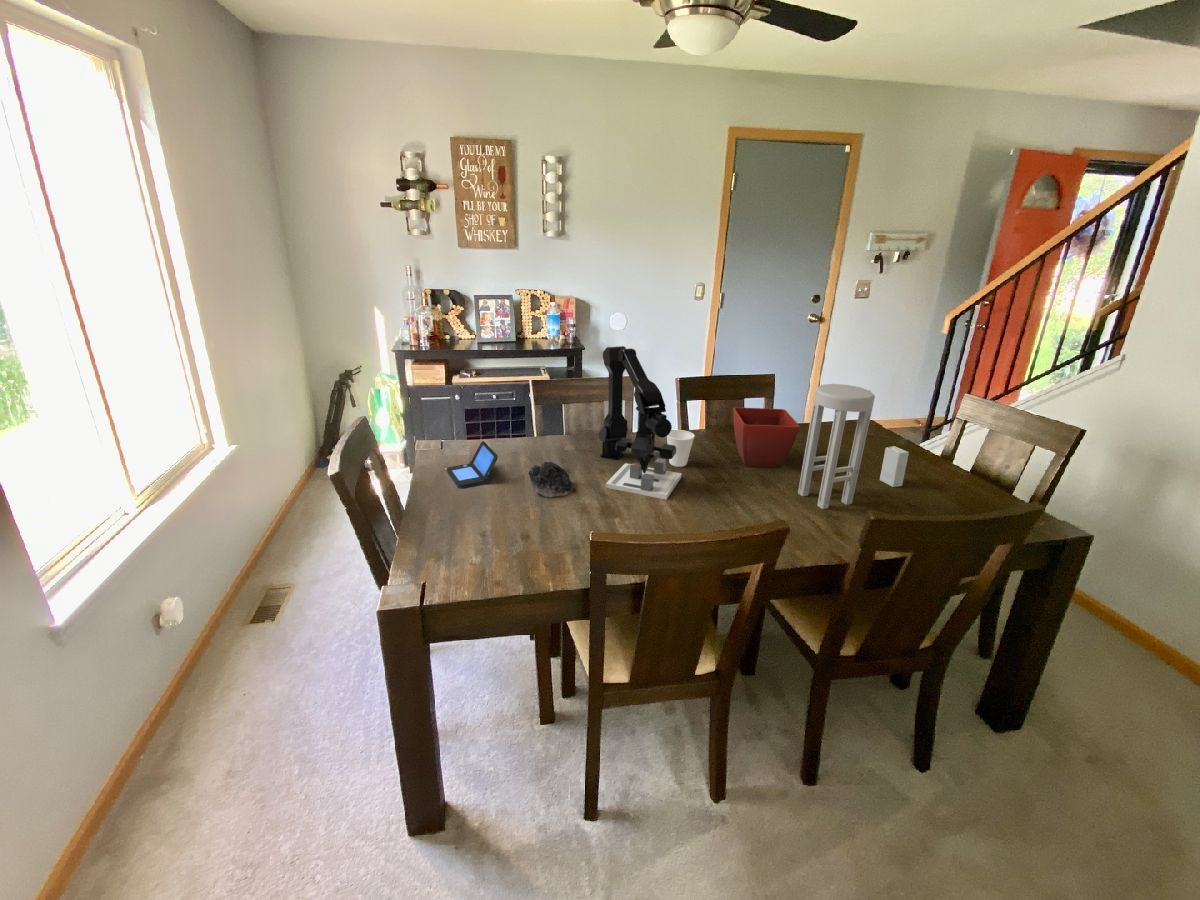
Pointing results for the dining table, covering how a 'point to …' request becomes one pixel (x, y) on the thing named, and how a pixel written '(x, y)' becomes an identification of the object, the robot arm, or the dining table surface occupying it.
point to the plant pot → (764, 435)
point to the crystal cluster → (550, 480)
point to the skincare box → (894, 466)
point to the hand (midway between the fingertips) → (644, 472)
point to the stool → (836, 439)
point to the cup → (680, 446)
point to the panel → (624, 483)
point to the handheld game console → (474, 468)
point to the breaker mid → (635, 471)
